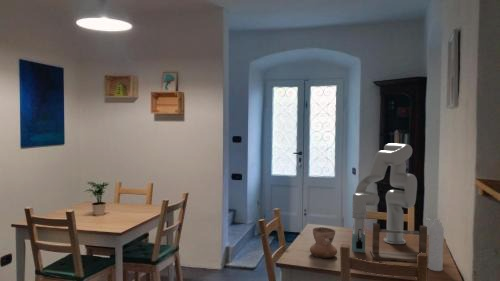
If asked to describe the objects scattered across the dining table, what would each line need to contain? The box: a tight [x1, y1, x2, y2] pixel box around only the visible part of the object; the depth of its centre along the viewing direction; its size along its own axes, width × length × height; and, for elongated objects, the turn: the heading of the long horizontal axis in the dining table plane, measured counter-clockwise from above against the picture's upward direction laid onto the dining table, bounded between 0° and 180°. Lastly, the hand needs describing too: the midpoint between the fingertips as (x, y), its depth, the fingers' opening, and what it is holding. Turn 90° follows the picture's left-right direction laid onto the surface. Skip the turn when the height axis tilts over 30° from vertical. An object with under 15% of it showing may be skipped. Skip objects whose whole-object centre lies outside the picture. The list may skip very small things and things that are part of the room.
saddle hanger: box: [351, 230, 366, 253], centre depth 227 cm, size 6×6×10 cm
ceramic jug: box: [309, 226, 338, 259], centre depth 217 cm, size 18×14×14 cm
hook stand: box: [369, 222, 428, 263], centre depth 215 cm, size 12×28×18 cm, turn 82°
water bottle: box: [425, 217, 445, 272], centre depth 198 cm, size 9×6×25 cm
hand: (358, 246), depth 227 cm, fingers open, 6 cm apart
